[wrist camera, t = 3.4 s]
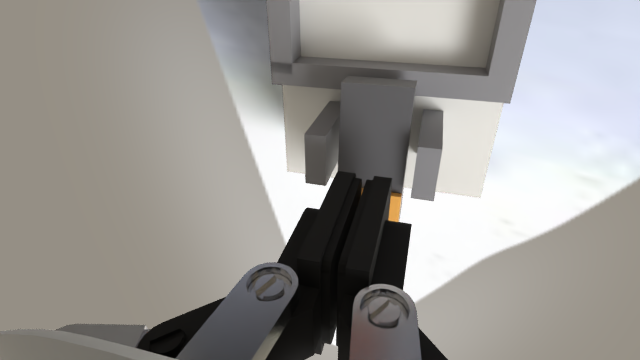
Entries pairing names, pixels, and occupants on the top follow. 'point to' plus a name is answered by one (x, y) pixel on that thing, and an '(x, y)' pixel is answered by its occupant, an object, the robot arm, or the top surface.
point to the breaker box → (400, 63)
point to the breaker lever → (376, 131)
